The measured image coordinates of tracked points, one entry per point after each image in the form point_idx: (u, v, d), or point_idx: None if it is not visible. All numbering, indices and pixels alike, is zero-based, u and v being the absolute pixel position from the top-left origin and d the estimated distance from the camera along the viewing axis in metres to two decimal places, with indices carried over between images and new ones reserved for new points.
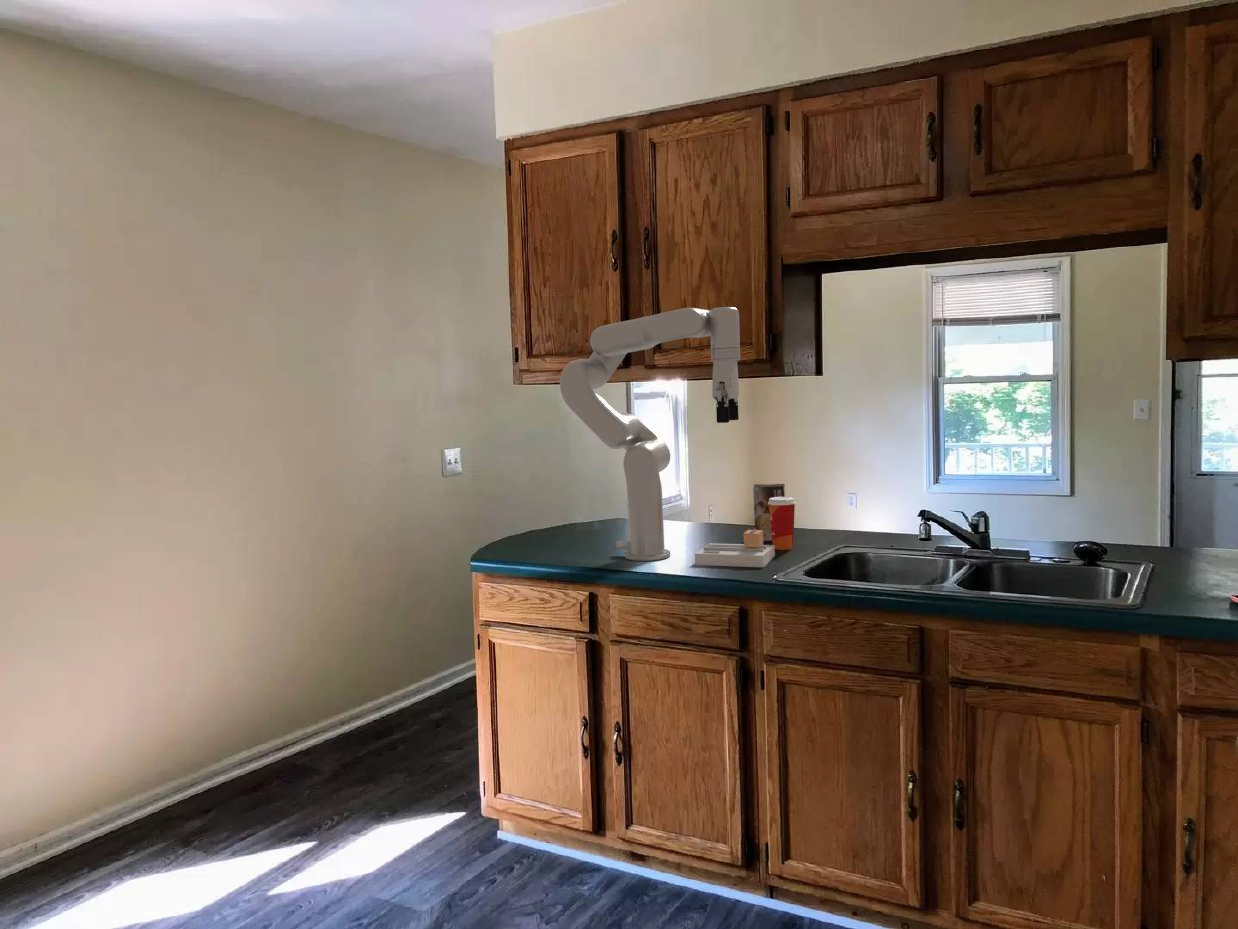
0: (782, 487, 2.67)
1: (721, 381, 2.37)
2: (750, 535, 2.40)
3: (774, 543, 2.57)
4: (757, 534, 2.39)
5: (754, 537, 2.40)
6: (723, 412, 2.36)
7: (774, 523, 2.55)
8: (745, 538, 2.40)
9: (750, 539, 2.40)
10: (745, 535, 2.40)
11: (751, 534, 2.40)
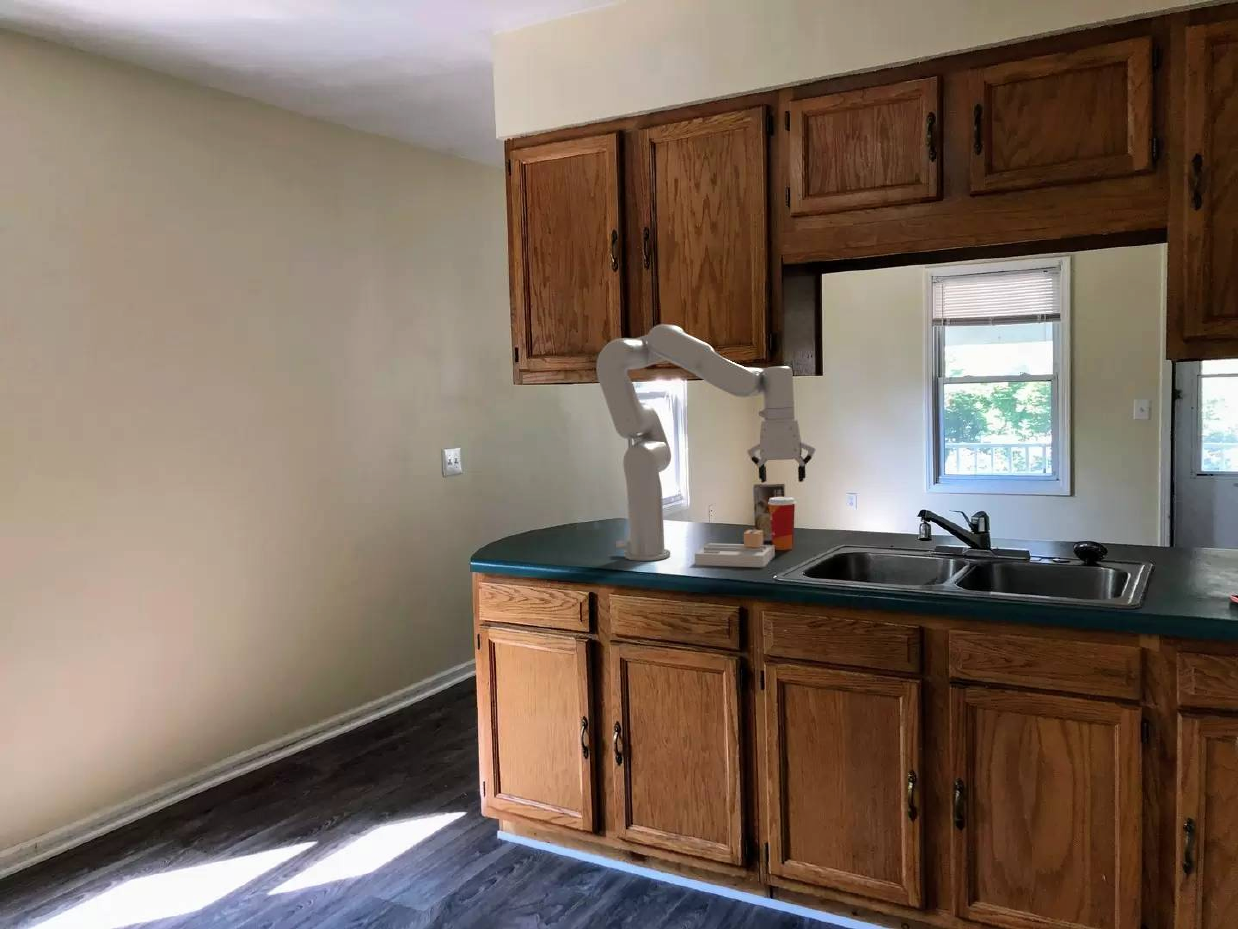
0: (782, 487, 2.67)
1: (799, 440, 2.35)
2: (750, 535, 2.40)
3: (774, 543, 2.57)
4: (757, 534, 2.39)
5: (754, 537, 2.40)
6: None
7: (774, 523, 2.55)
8: (745, 538, 2.40)
9: (750, 539, 2.40)
10: (745, 535, 2.40)
11: (751, 534, 2.40)
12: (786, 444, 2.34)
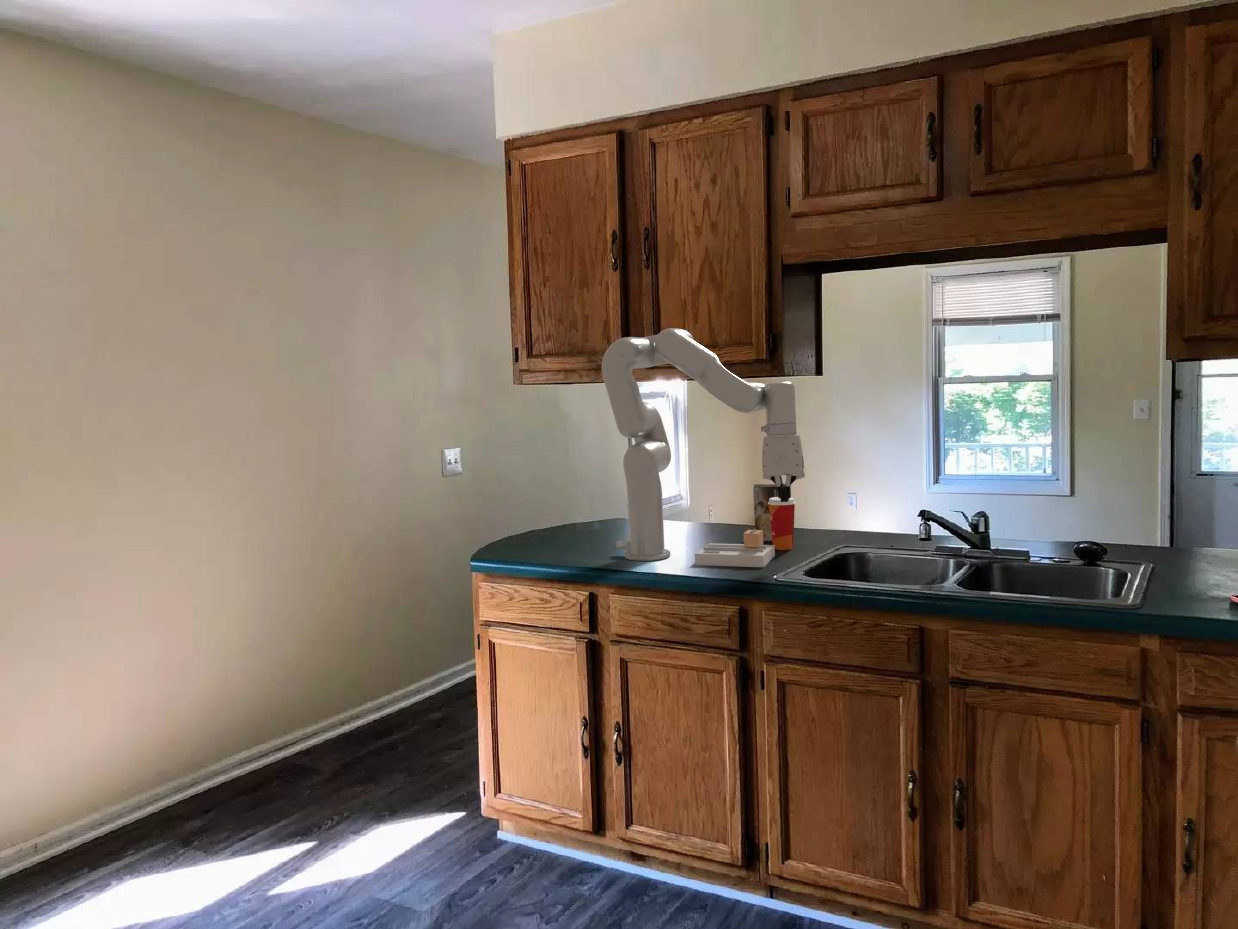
0: None
1: None
2: (750, 535, 2.40)
3: (774, 543, 2.57)
4: (757, 534, 2.39)
5: (754, 537, 2.40)
6: (790, 490, 2.38)
7: (774, 523, 2.55)
8: (745, 538, 2.40)
9: (750, 539, 2.40)
10: (745, 535, 2.40)
11: (751, 534, 2.40)
12: (788, 459, 2.34)
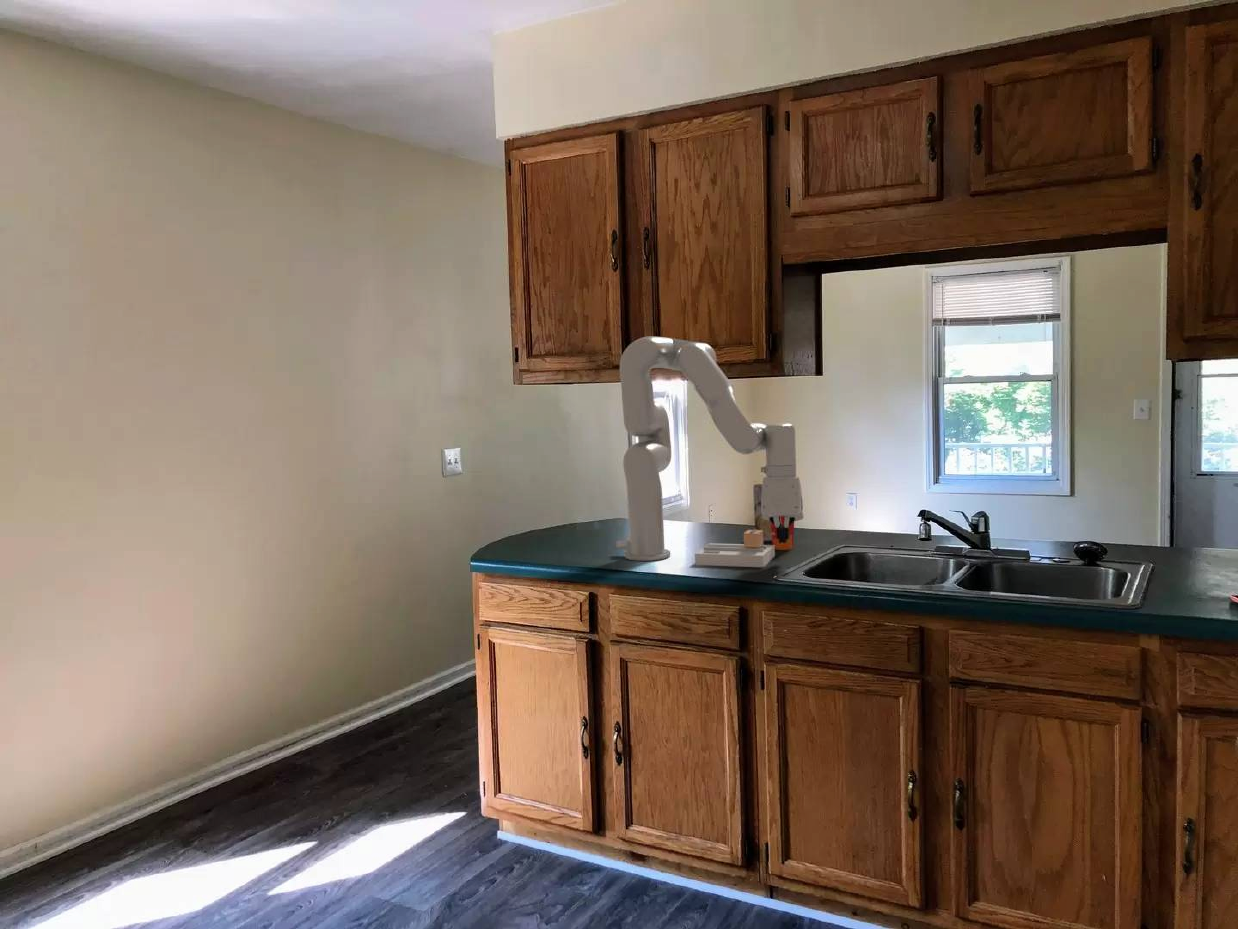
0: None
1: None
2: (750, 535, 2.40)
3: (774, 543, 2.57)
4: (757, 534, 2.39)
5: (754, 537, 2.40)
6: (788, 531, 2.39)
7: None
8: (745, 538, 2.40)
9: (750, 539, 2.40)
10: (745, 535, 2.40)
11: (751, 534, 2.40)
12: (787, 501, 2.35)
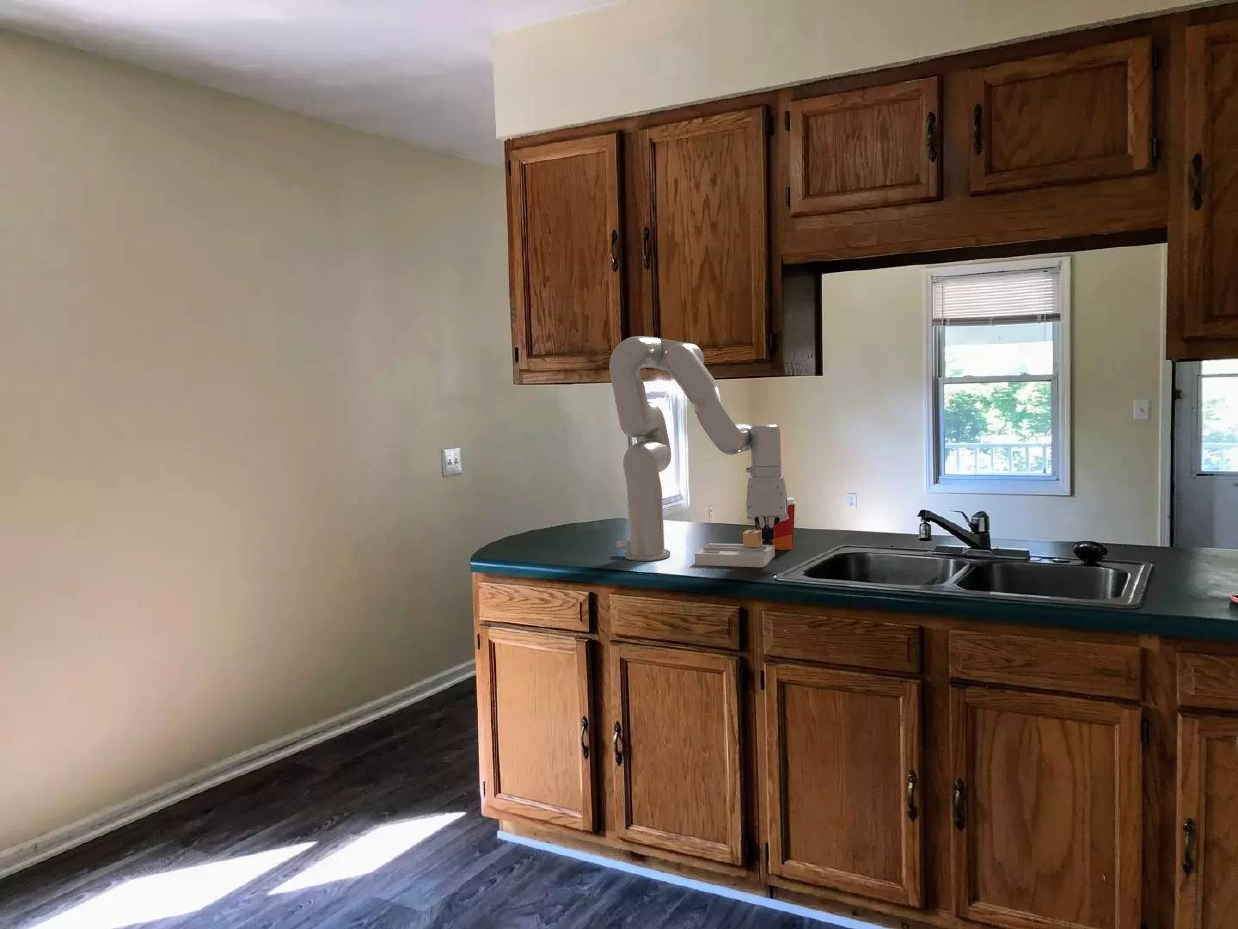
0: None
1: None
2: (749, 535, 2.40)
3: (774, 543, 2.57)
4: (756, 534, 2.39)
5: (753, 537, 2.40)
6: (773, 532, 2.41)
7: None
8: (744, 538, 2.41)
9: (749, 539, 2.40)
10: (744, 535, 2.40)
11: (750, 534, 2.40)
12: (772, 502, 2.37)
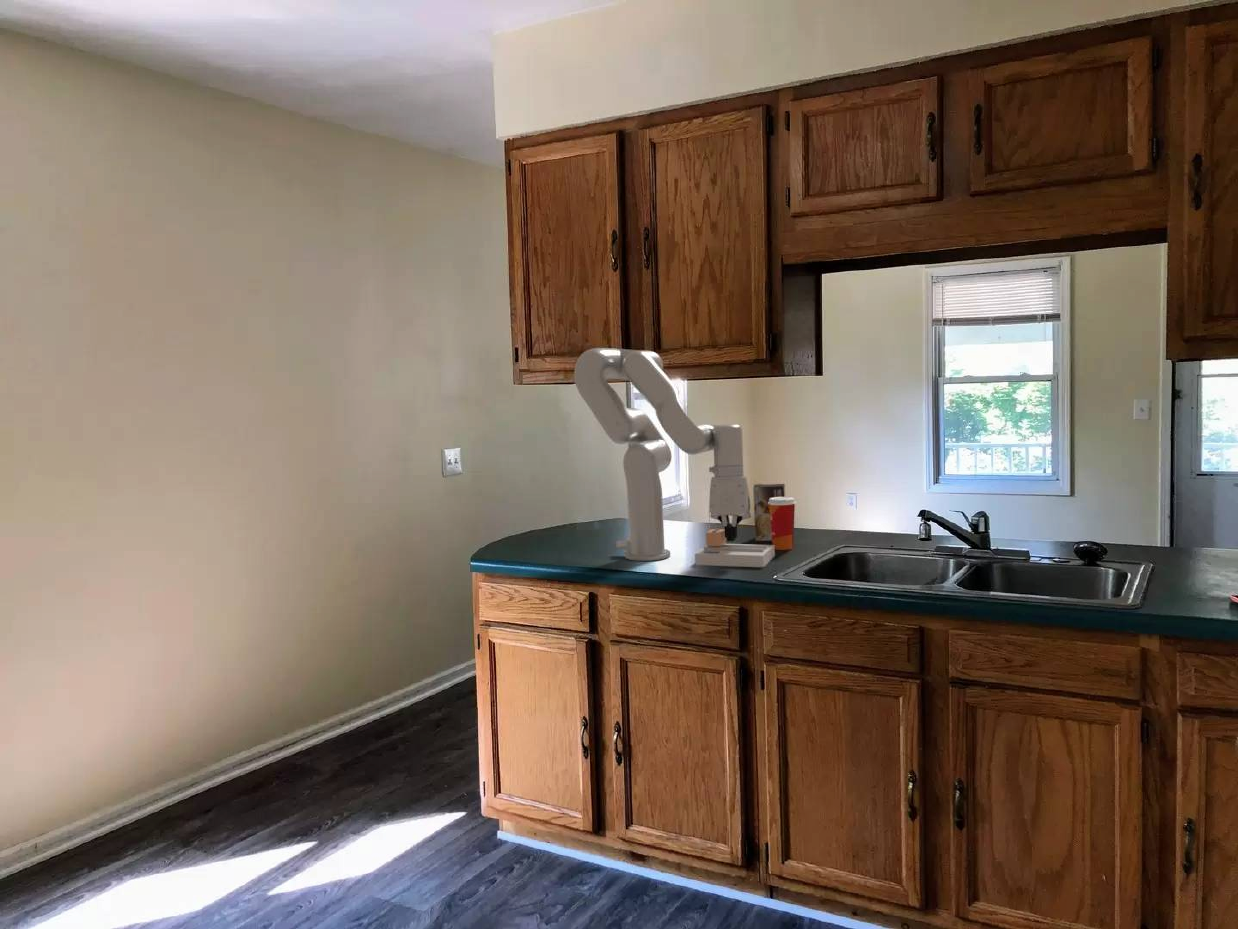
0: (782, 487, 2.67)
1: None
2: (713, 534, 2.44)
3: (774, 543, 2.57)
4: (719, 533, 2.43)
5: (716, 536, 2.43)
6: (736, 530, 2.44)
7: (774, 523, 2.55)
8: (707, 537, 2.44)
9: (712, 538, 2.44)
10: (707, 534, 2.44)
11: (713, 533, 2.43)
12: (734, 501, 2.40)
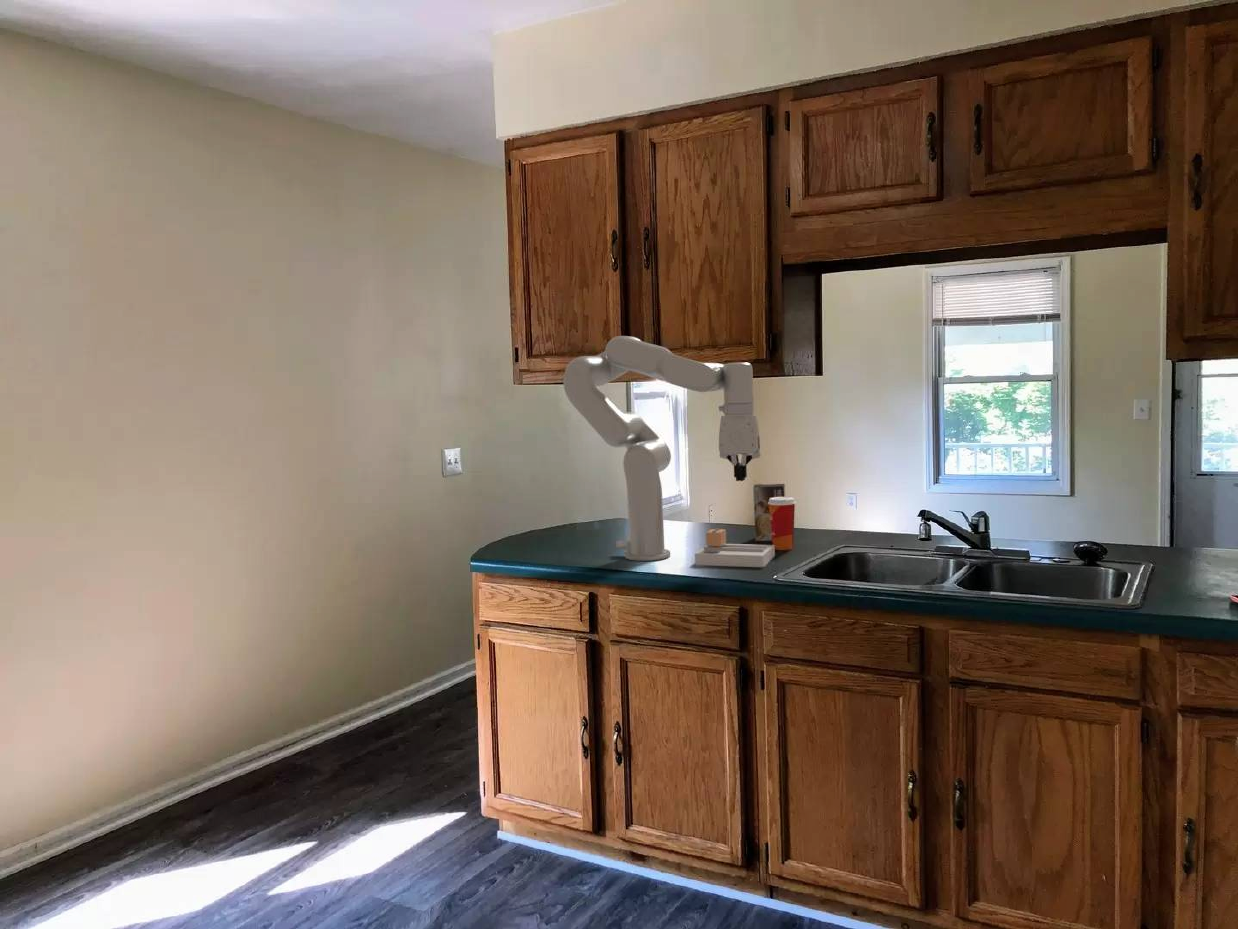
0: (782, 487, 2.67)
1: None
2: (713, 534, 2.44)
3: (774, 543, 2.57)
4: (719, 533, 2.43)
5: (716, 536, 2.43)
6: (746, 470, 2.42)
7: (774, 523, 2.55)
8: (707, 537, 2.44)
9: (712, 538, 2.44)
10: (708, 534, 2.44)
11: (713, 533, 2.43)
12: (744, 439, 2.38)
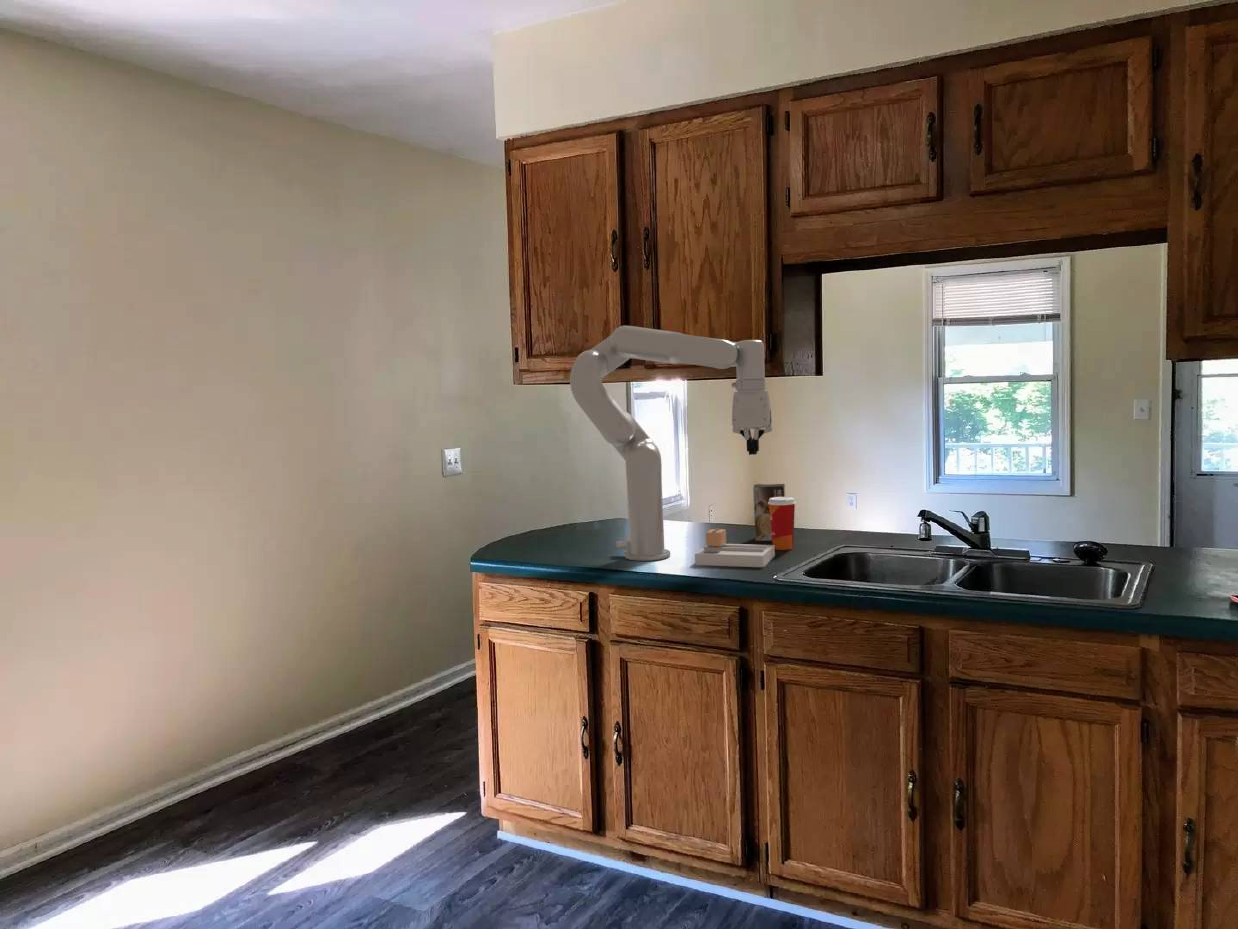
0: (782, 487, 2.67)
1: None
2: (713, 534, 2.44)
3: (774, 543, 2.57)
4: (719, 533, 2.43)
5: (716, 536, 2.43)
6: (758, 444, 2.51)
7: (774, 523, 2.55)
8: (707, 537, 2.44)
9: (712, 538, 2.44)
10: (708, 534, 2.44)
11: (713, 533, 2.43)
12: (756, 414, 2.47)
